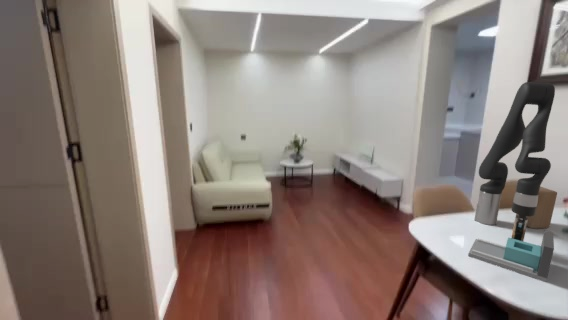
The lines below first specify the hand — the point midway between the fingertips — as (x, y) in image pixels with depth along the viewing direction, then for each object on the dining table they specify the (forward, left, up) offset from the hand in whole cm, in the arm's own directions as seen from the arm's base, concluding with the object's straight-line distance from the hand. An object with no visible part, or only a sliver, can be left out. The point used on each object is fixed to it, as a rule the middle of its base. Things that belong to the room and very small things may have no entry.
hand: (517, 239), depth 115 cm
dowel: (0, 0, -5) cm, 5 cm away
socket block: (+2, -13, -3) cm, 14 cm away
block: (+4, +36, -5) cm, 37 cm away
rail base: (-2, -13, -5) cm, 14 cm away
